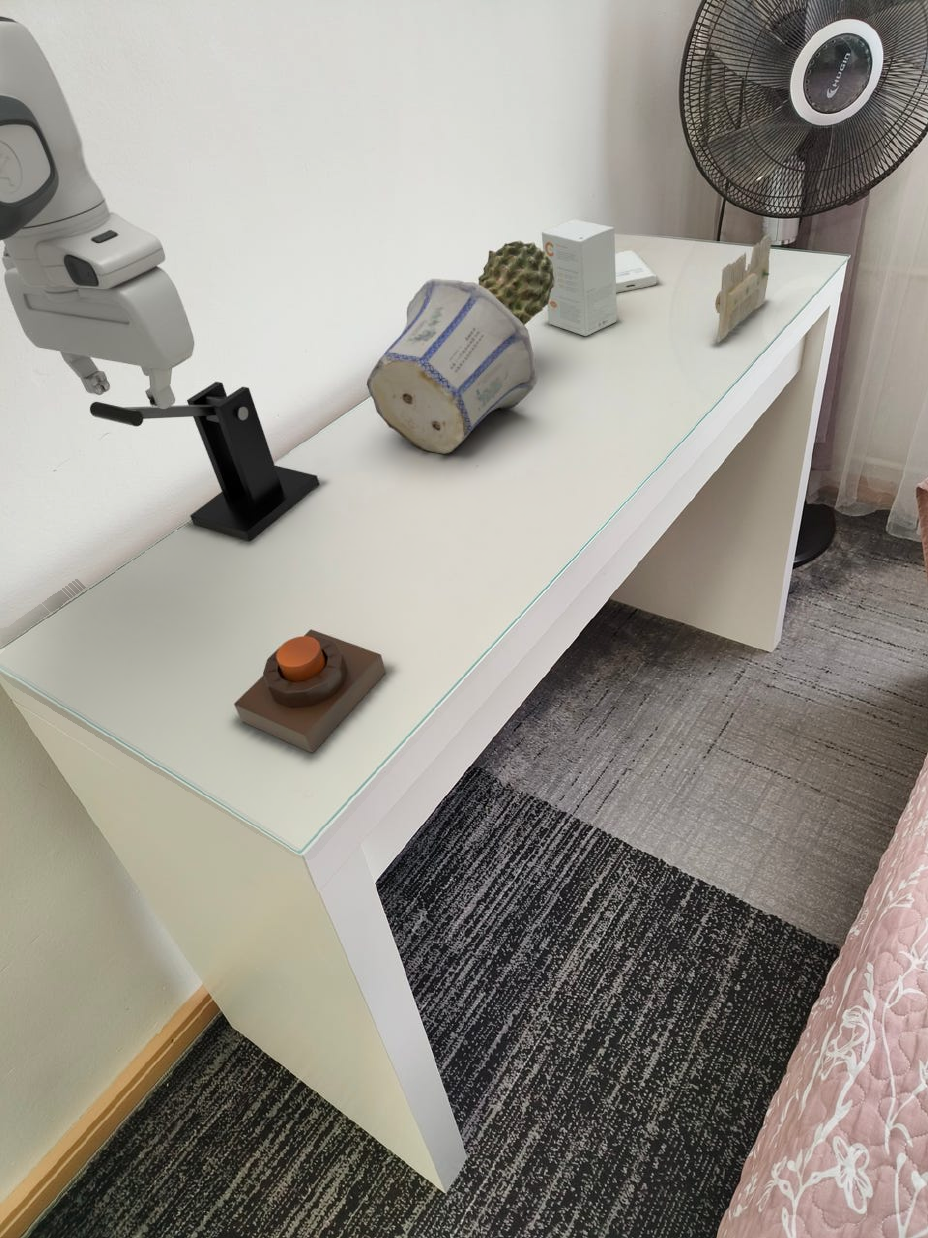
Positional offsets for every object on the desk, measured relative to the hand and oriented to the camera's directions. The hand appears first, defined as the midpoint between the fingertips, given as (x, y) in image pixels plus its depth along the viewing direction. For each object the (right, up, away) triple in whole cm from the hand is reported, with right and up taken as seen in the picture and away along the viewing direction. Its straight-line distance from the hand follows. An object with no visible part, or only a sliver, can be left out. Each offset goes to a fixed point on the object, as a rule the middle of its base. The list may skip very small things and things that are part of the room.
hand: (131, 398), depth 80 cm
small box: (+49, +22, +42) cm, 68 cm away
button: (+18, -25, -10) cm, 33 cm away
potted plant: (+35, +6, +28) cm, 45 cm away
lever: (+3, -1, +5) cm, 6 cm away
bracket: (+8, -8, +17) cm, 20 cm away
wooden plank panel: (+69, +19, +35) cm, 80 cm away
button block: (+19, -28, -8) cm, 34 cm away
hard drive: (+56, +33, +54) cm, 85 cm away
